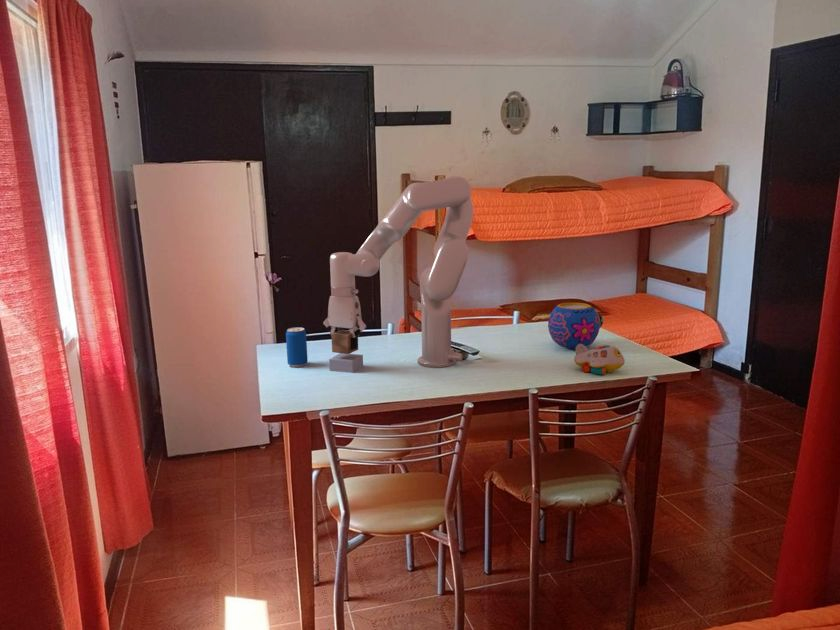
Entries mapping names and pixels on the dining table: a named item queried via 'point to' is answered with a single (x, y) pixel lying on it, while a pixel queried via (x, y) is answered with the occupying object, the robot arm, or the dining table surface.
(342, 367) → the base block
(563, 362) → the dining table surface
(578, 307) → the ceramic pot
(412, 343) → the dining table surface
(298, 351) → the beverage can
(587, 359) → the toy airplane
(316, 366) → the dining table surface
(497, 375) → the dining table surface
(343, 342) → the walnut cube
